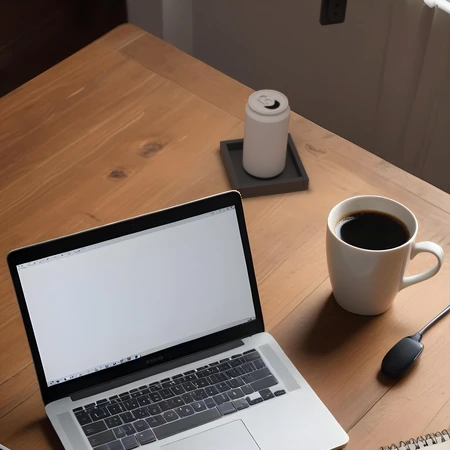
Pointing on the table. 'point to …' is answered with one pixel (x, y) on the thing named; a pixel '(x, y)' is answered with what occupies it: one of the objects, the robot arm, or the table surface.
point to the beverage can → (265, 133)
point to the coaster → (253, 186)
